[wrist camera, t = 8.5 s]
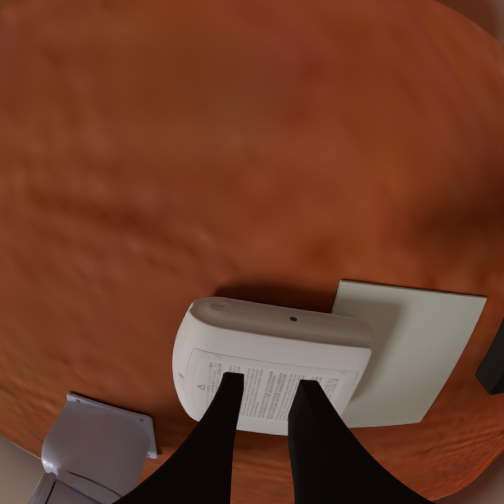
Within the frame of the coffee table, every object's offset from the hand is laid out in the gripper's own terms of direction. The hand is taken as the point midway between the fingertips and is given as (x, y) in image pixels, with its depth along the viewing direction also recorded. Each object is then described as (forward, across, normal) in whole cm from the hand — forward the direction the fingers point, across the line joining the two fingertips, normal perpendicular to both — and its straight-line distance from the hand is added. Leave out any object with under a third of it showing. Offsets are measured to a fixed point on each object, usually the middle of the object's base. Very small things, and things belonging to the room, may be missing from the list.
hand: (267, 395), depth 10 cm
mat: (+10, -12, +7) cm, 17 cm away
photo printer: (+8, -7, +6) cm, 12 cm away
